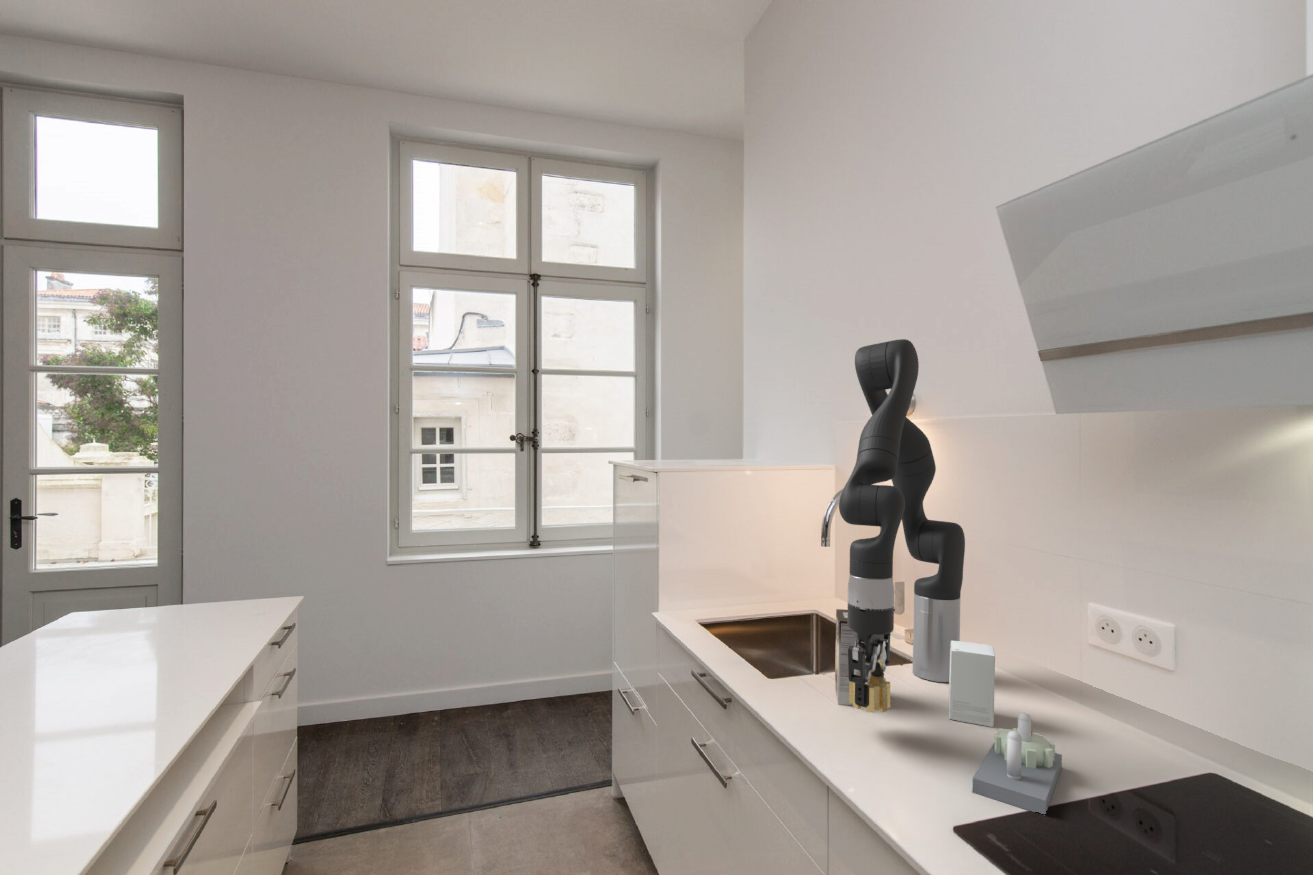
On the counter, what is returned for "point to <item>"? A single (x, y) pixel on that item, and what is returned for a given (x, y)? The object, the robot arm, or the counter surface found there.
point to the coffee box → (843, 656)
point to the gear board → (1019, 768)
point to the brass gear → (874, 694)
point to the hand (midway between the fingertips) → (869, 698)
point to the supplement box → (972, 683)
